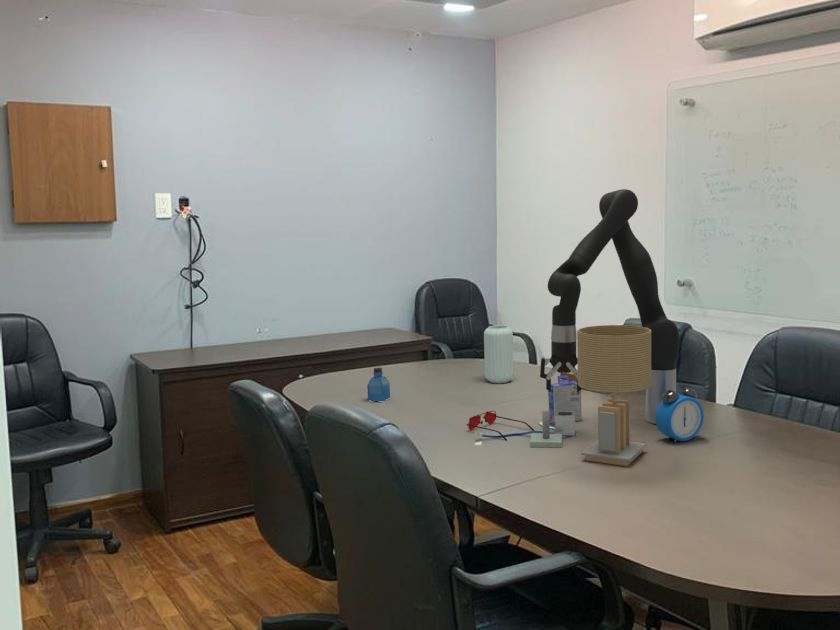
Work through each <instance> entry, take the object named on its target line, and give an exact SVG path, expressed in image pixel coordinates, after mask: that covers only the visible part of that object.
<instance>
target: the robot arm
mask: <svg viewBox="0 0 840 630" xmlns="http://www.w3.org/2000/svg"><path fill="white" fill-rule="evenodd" d="M598 206H599V207H598V208H599V209H598V210H599V213H600V216H601V220H600V221H599V222H598V223H597V225H596V226H594V228H593V229H592V230H590V231H589V232H588V234H586V235H585V236H584V237H583V238H582V239H581V240H580V241H579V243H578V244H577V246H576V247H575V248H574V250H573V251H572V252H571V254H570V256H569V257H568V258H567V259H566V260H565V261H564V262H562V263H561V264H560V266H558V267H557V269H555V270H554V271H553V272H552V273H551V275H550V276H549V279H548V281H547V290H548V292H549V293H550V294H551V296H552V295H553V296H554V297H560V300H559V304H556V305H554V306H553V308H552V311H551V312H552V313H551V317H552V318H551V324H552V325H551V333H550V335H551V337H550V340H551V342H550V345H551V349H550V350H551V351H550V352H551V354H550V355H551V356H550V358H546V357H544V356H543V357H541V360H540V371H539V373H540V374H539V377H540V378H541V379H545V381H546V382H545V384H546V386H545V388H546V390H547V391H548V390H549V392H551V383H552V379H551V378H553V376H554V375H555V373H556V372H557V373H558V374H561V373H562V372H565V373H569V372H572V373H573V374H574V375H575V376H576V378H577V392H579V391H581V392H582V390H581V389H582V388H581V387H580V386H579V385H578V371H577V370H578V368H576V366H578V365H577V327H576V323H577V321H576V320H577V317H576V316H577V315H576V314H577V313H576V311H577V308H578V303H579V299H580V295H581V291H582V287H581V281H580V279H579V277H580V276H582V275H585V274H587V273H588V271H590V269H591V267H592V266H593V264H594V263H595V261H596V260H597V258H598V257H599V256H600V254H601V253H602V252H603V250H604V249H605V248H606V246H607V245H608V243H609V242H610V241H611V240H612V243H613V246H614V249H615V251H616V254H617V256H618V258H619V262H620V266H621V269H622V272H623V275H624V277H625V281H626V283H627V285H628V288H629V290H630V293H631V295H632V298H633V300H634V302H635V304H636V307H637V311H638V315H639V318H640V319H639V320H640V323H641V327H644V328H648V329H650V330H651V386H650V388H648V389H646V390H645V421H646V422H647V423H651V424H655V425H657V424H656V411H657V408H658V406H659V404H660V403H661V401H662V395H663V394H664V393H665V392H666V391H668V390H674V391H676V392H677V363H678V360H679V348H680V346H679V345H680V343H679V341H680V333H679V332H680V331H679V328H678V326H677V324H676V323H675V322H674V321H672V320H671V319H669V318H668V317H667V315H666V313H665V310H664V308H663V305H662V303H661V300H660V297H659V285H658V283H659V282H658V276H657V272H656V268H655V265H654V264H653V260H652V258H651V255H650V253H649V251H648V250H647V248H646V247H644V245H643V244H642V242H641V241H640V240H639V239H638V238H637V236H635V234H634V233H633V231H632V228H631V227H630V221H629V220H630V219H631V218H632V217H633V216H634V215H635V213H636V212H637V210H638V206H639V199H638V196H637V195H636V194H635V192H633V190H631V189H628V188H627V189H625V188H624V189H623V188H622V189H617V190H614V191H610V192H607V193H605V194H603V195H602V197H601V198H600V200H599V205H598ZM548 363H550V365H551V366H552V368H551V369H550V370H549V372H548V373H545V370H546V366H548Z"/></svg>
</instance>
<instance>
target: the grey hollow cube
mask: <svg viewBox="0 0 840 630" xmlns="http://www.w3.org/2000/svg"><path fill="white" fill-rule="evenodd" d="M554 434H562V436H569V437H571V436H576V421H575V411H555V423H554Z"/></svg>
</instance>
